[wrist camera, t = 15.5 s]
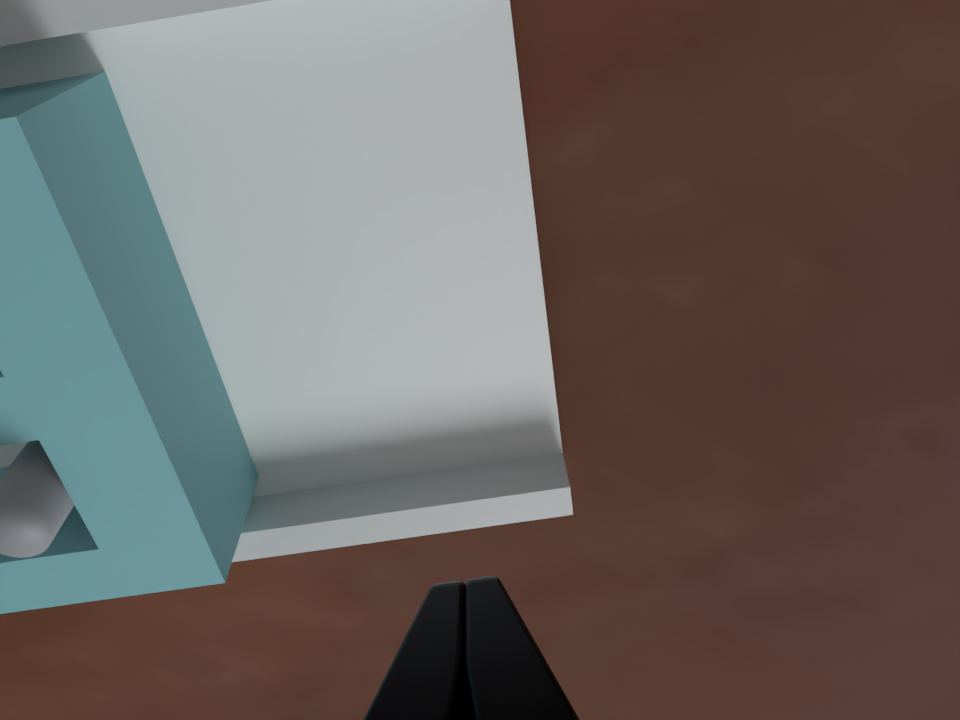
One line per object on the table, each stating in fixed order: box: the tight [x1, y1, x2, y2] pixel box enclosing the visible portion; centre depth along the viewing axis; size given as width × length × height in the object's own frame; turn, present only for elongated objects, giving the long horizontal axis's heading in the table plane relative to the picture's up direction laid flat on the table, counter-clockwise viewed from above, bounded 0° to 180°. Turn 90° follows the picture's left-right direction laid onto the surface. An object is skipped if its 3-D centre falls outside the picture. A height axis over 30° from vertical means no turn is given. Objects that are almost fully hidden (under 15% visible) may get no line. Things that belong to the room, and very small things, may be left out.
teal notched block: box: [0, 72, 259, 614], centre depth 18 cm, size 7×11×4 cm, turn 8°
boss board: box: [0, 0, 573, 562], centre depth 18 cm, size 16×15×6 cm
